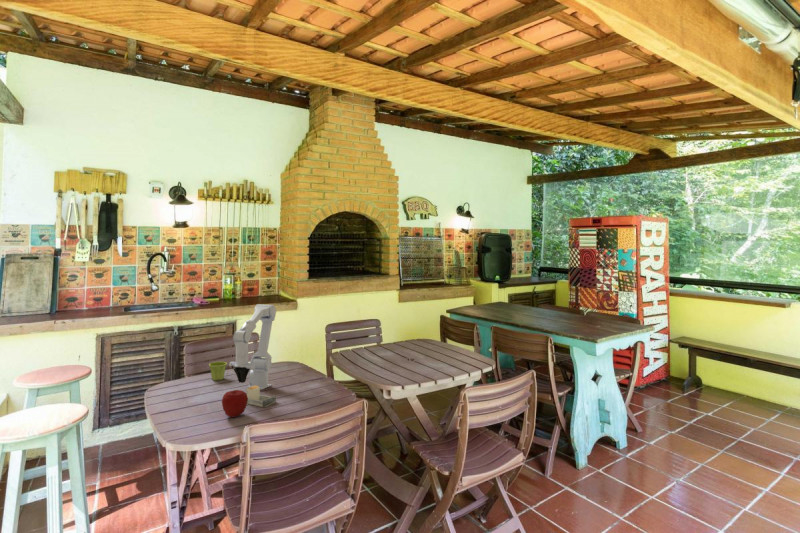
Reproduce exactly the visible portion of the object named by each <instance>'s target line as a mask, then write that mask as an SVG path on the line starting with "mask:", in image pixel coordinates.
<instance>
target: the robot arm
mask: <svg viewBox="0 0 800 533" xmlns="http://www.w3.org/2000/svg"><path fill="white" fill-rule="evenodd" d="M276 314H277V308H276V306H275V304H263V303H261V304H260V303H257V304H256V305H255V307H254V310H253V314H252V315H251V317H250V319H247V320H246V321H245V322H244V323H243V325H242V326H241V327H240V328H239V329H238V330H236V331H235V332H234V333H233V336H232V339H233V343H234V346H235V361H230V362H229V367H235V368H233V371H234V373H235V375H236V377H237V381H238V383H241V384H243V383H246V381H247V376H248V386H247V388H249V387H252V386H259V387H260V391H261V390H265V389H267V388H269V387H271V386H272V384H271V383H270V384H269V370H271V367H272V363H273V362H272V355H271V354H270V353H269V352H268V351H269V350H268V349H269V344H270V338H271V331H272V326H273V321H275V319H276ZM259 321H261V322H262V325H261V327H260V328H261V330H260V333H259V334H260V335H259V340H258V345H257V346H258V347H257V351H256V352H255V353H253V354H252V356H251V360H250V362H249V342H250V340H251V336H252V335H253V334H252V333H253V332H254V330H255V329H256V328H257V323H258V322H259Z"/></svg>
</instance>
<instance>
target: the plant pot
mask: <svg viewBox="0 0 800 533" xmlns="http://www.w3.org/2000/svg"><path fill="white" fill-rule="evenodd" d="M227 364H228V362H227V361H226V362H225V361H215V362H214V361H213V362H210V363H209V364H208V366H209V369H210V374H211V380H212V381H221V380H223V379H224V378H225V371H226V367H227Z"/></svg>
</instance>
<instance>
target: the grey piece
mask: <svg viewBox="0 0 800 533" xmlns="http://www.w3.org/2000/svg"><path fill="white" fill-rule="evenodd" d="M276 402H277V396H276V395H273V396H269V395H264V394H260V399H259V400H255V399H250V398H248V401H247V405H250V406H255V407H259V408H263V409H264V408H266V407H269V406H271V405H273V404H275V403H276Z"/></svg>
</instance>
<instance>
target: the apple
mask: <svg viewBox="0 0 800 533" xmlns="http://www.w3.org/2000/svg"><path fill="white" fill-rule="evenodd" d="M247 401H248V397H247V392H244V391H243V390H241V389H234V390H230V391H226V392H225V394H223V396H222V399H221V405H222V409H223V411H224V414H225V415H226V416H228V417H230V418H237V417H239V416H241V414H244V413H245V410H246V407H247V405H248V404H247Z"/></svg>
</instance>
